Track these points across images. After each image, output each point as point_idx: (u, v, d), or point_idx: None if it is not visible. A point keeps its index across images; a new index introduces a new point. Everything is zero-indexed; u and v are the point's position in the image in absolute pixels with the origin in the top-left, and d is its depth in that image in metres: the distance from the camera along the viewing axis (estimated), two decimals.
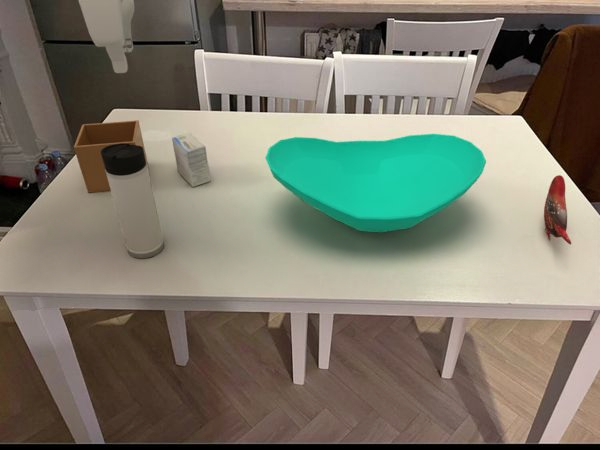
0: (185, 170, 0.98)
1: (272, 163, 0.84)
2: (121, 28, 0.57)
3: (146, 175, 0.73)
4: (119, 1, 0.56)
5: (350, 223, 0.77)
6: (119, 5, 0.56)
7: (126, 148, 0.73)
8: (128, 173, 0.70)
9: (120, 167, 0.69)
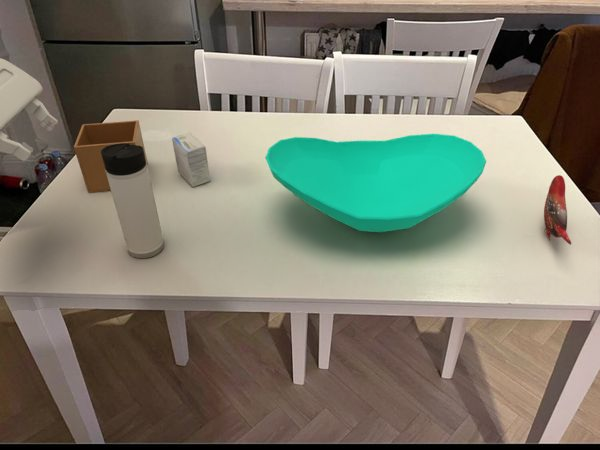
0: (185, 170, 0.98)
1: (272, 163, 0.84)
2: None
3: (146, 175, 0.73)
4: None
5: (350, 223, 0.77)
6: None
7: (126, 148, 0.73)
8: (128, 173, 0.70)
9: (120, 167, 0.69)
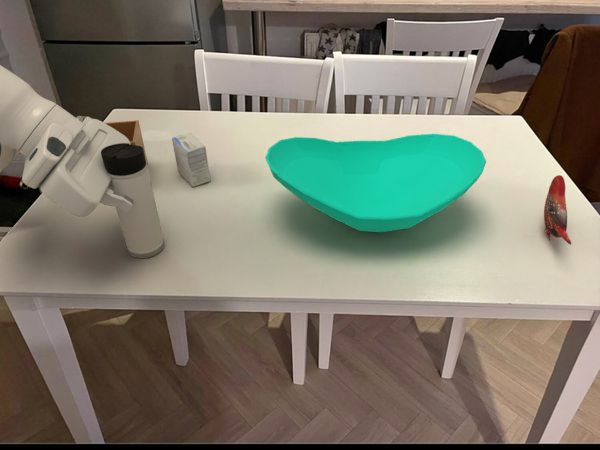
0: (185, 170, 0.98)
1: (272, 163, 0.84)
2: (84, 195, 0.64)
3: (146, 175, 0.73)
4: (67, 179, 0.63)
5: (350, 223, 0.77)
6: (69, 182, 0.63)
7: (126, 148, 0.72)
8: (128, 173, 0.70)
9: (120, 168, 0.69)
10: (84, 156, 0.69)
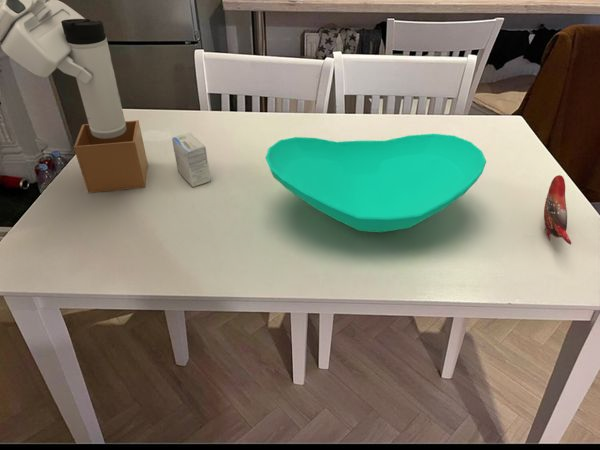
0: (185, 170, 0.98)
1: (272, 163, 0.84)
2: (42, 52, 0.68)
3: (105, 49, 0.77)
4: (25, 35, 0.67)
5: (350, 223, 0.77)
6: (27, 37, 0.67)
7: (86, 22, 0.76)
8: (87, 42, 0.74)
9: (79, 35, 0.73)
10: (45, 25, 0.73)
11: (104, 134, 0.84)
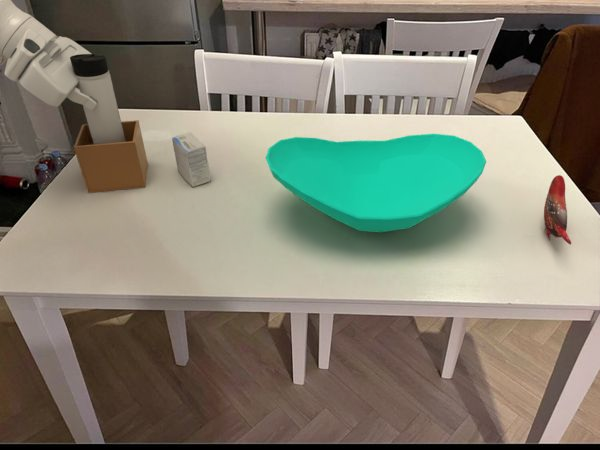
0: (185, 170, 0.98)
1: (272, 163, 0.84)
2: (54, 86, 0.80)
3: (108, 79, 0.88)
4: (40, 71, 0.79)
5: (350, 223, 0.77)
6: (42, 74, 0.79)
7: (91, 57, 0.88)
8: (92, 75, 0.86)
9: (85, 69, 0.85)
10: (56, 61, 0.85)
11: None
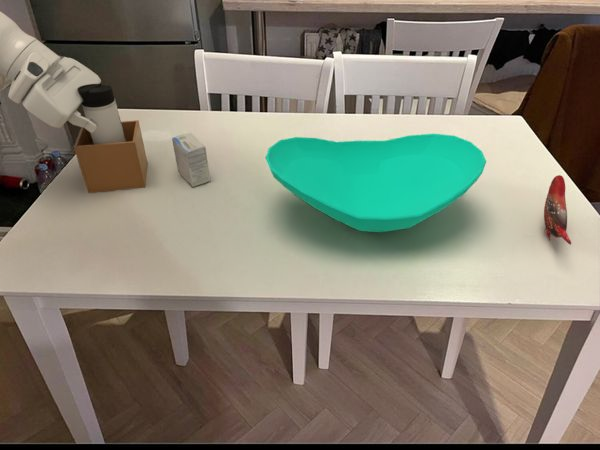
0: (185, 170, 0.98)
1: (272, 163, 0.84)
2: (57, 108, 0.81)
3: (114, 109, 0.91)
4: (43, 94, 0.80)
5: (350, 223, 0.77)
6: (45, 96, 0.80)
7: (98, 87, 0.91)
8: (99, 105, 0.89)
9: (92, 100, 0.88)
10: (59, 82, 0.86)
11: None
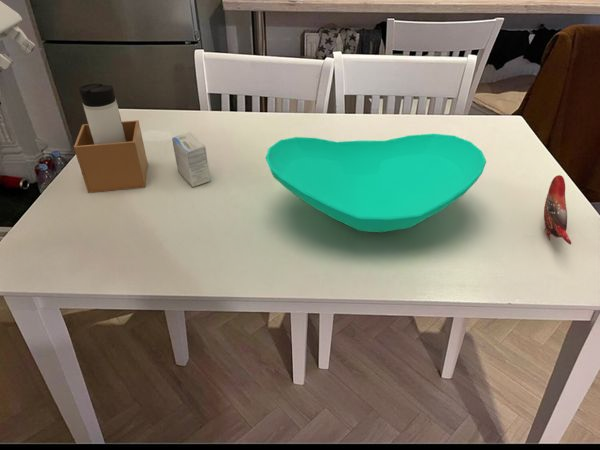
0: (185, 170, 0.98)
1: (272, 163, 0.84)
2: None
3: (115, 108, 0.92)
4: None
5: (350, 223, 0.77)
6: None
7: (99, 87, 0.91)
8: (100, 105, 0.89)
9: (93, 100, 0.88)
10: None
11: None
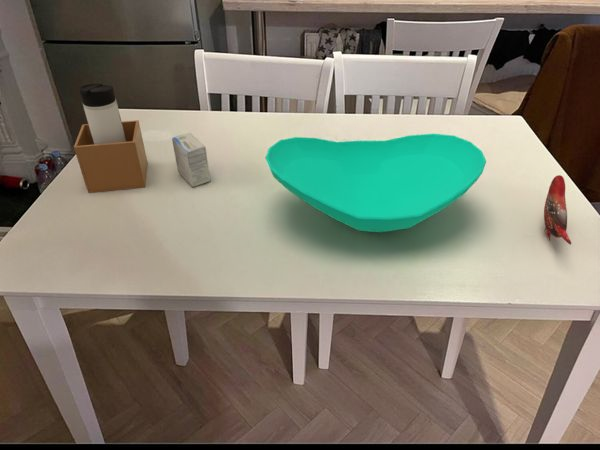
0: (185, 170, 0.98)
1: (272, 163, 0.84)
2: None
3: (115, 108, 0.92)
4: None
5: (350, 223, 0.77)
6: None
7: (99, 87, 0.91)
8: (100, 105, 0.89)
9: (93, 100, 0.88)
10: None
11: None
